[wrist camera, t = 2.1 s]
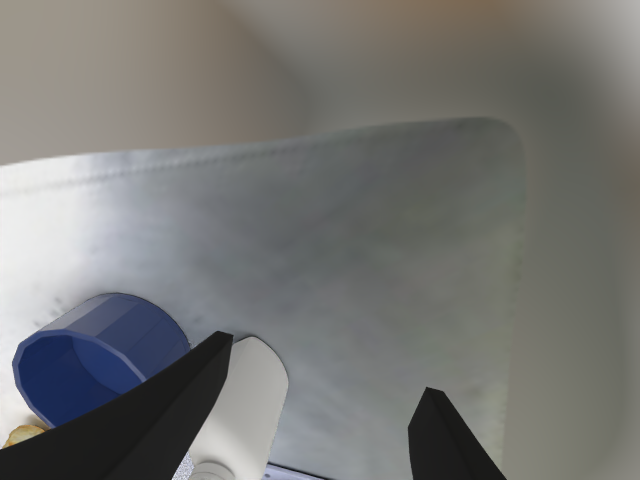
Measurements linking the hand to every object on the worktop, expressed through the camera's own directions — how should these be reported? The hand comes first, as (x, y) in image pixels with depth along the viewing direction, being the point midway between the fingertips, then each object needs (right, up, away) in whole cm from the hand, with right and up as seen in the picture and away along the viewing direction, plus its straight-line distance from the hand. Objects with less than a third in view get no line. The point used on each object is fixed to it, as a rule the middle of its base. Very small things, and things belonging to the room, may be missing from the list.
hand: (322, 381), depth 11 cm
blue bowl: (-16, -4, +15) cm, 22 cm away
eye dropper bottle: (-5, -5, +14) cm, 15 cm away
